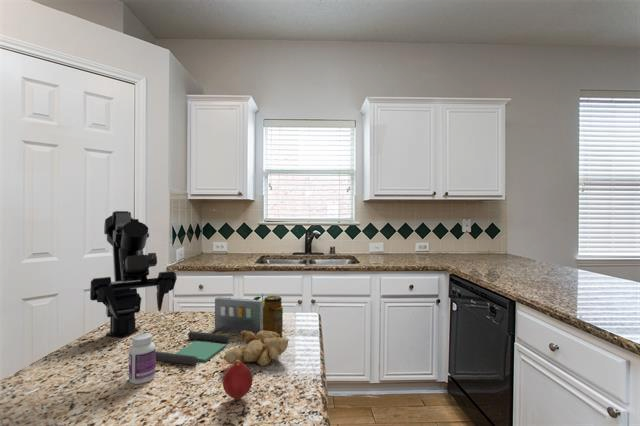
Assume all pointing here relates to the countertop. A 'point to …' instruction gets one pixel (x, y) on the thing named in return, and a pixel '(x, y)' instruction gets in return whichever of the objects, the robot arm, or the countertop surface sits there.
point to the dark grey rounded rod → (176, 358)
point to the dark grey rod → (208, 336)
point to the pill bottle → (142, 359)
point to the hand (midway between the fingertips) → (139, 313)
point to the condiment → (273, 315)
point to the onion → (237, 380)
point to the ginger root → (258, 348)
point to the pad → (202, 350)
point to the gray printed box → (238, 315)
